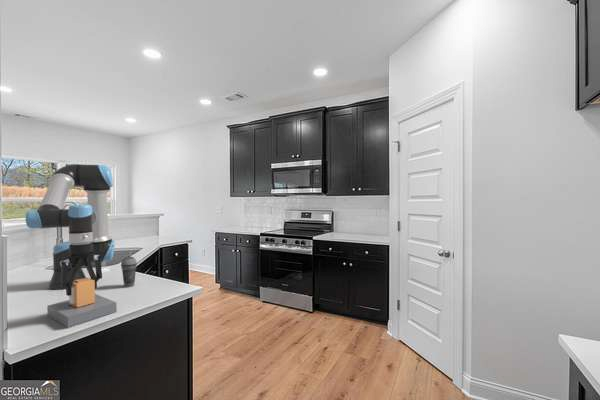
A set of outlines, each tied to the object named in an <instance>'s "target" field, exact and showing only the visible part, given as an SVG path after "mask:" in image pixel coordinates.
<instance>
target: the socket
mask: <svg viewBox="0 0 600 400" xmlns="http://www.w3.org/2000/svg"><path fill="white" fill-rule="evenodd" d="M117 306H118V305H117V301H114V300H111V299H109V298H106V297H104V296H101V295H100V294H96V293H95V303H91V304H88V305H87V306H84V307H75V306H73V307H71V304H70V303H69V299H67V300H64V301H60V302H56V303H52V304H49V305H47V307H46V308H47V310H46V311H47V316H48V317H49V318H51V319H52V318H53V319H52V320H54V321H55V322H57V323H59V324H61V325H62V324H63V325H62V326H63V327H66V328H67V327H68V329H70V328H73V327H75V325H76V326H78V325H82V324H84V323H87V322H91V321H93V320H96V319H100V318H103V317H105V316H108V315H112V314H115V313H117V309H118V308H117ZM72 326H73V327H72ZM69 327H70V328H69Z"/></svg>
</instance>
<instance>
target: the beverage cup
mask: <svg viewBox="0 0 600 400" xmlns="http://www.w3.org/2000/svg"><path fill="white" fill-rule="evenodd" d="M120 263H121V264H120V266H121V267H120V268H121V272H122V279H123V286H124V288H131V287H134V286H135V281H136V272H137V271H136V269H137V264H138V261H137V259H136V258H135V257H134V256H132V247H130V251H129V256H126V257H124V258H123V259H122V260H121V262H120Z"/></svg>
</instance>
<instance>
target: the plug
mask: <svg viewBox="0 0 600 400" xmlns="http://www.w3.org/2000/svg"><path fill="white" fill-rule="evenodd" d="M72 286H73V287H74V299H75V303H74V304H71V303H70V304H71V307H73V306H75V307H84V306H87V305H88V304H91V303H95V294H96V289H95V280H92V279H91V278H89V277H86V276H85V278H81V279H76V280H74V281H73V284H72Z"/></svg>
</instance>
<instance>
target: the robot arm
mask: <svg viewBox="0 0 600 400" xmlns="http://www.w3.org/2000/svg"><path fill="white" fill-rule="evenodd" d="M48 182H49V185H48V188H47V189H46V191H45V194H44V195H43V197H42V200H41V202H40V204H39V206H38V208H37V209H29V210H27V211H26V214H25V225H26V227H28V228H29V229H52V228H68V241H64V242H60V243H59V242H58V243H57V244H55V245H54V246H53V247H52V249H53V250H52V251H53V252H52V261H53V262H52V263H53V273H52V277H51V279H50V281H49V285H48V286H49V289H50V290H65V295H66V296H67V297H68V300H69V303H71V304H74V303H75V299H74V287H73V286H72V284H73V281H74V280H76V279H81V278H85V277H86V275H85V272H84V270H83V267H85V268H86V271H87V273H88V275H89V277H90V278H89V279H92V280H95V290H96V289H97V288H98V281H99V280H102V279H103V273H102V272H103V271H102V264H101V263H106V262H110V261H111V260H113V257H114V251H115V245H116V243H115V242H116V241H115V240H113V238H112V236H111V235H110V234H109V222H108V221H109V218H108V217H109V216H108V214H109V213H108V192H110V190H111V188H113V187H114V180H113V174H112V171H111V168H110V167H109V165H103V164H79V163H73V164H67V165H64V166H62V167H60V168H58V169H57V170H55V171H54V172H53V173H52V174H51V175H50V177H49V179H48ZM74 187H80V188H81V187H82V188H83V191H84V192H86V195H87V197H86V198H87V204H71V205H69V206H68V208H64V206H65V202H66V200H67V197H68V195H69V193H70V190H72V188H74ZM93 264H94V266H95V267H94V268H95V270H94V269H93Z"/></svg>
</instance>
